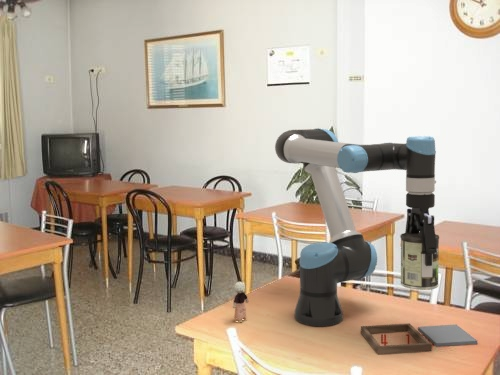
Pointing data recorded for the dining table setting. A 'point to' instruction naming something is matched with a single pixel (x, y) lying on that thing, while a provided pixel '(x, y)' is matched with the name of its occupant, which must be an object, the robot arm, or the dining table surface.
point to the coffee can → (416, 263)
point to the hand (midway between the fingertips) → (419, 271)
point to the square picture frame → (393, 349)
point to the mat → (447, 335)
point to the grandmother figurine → (240, 302)
